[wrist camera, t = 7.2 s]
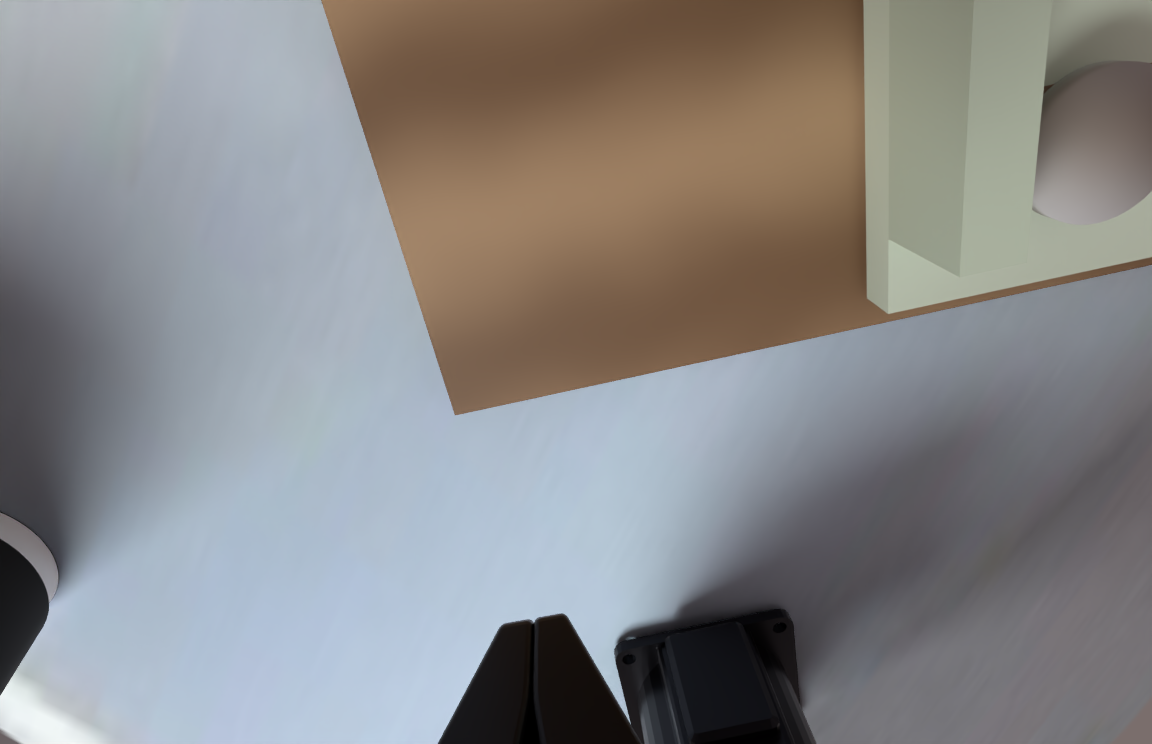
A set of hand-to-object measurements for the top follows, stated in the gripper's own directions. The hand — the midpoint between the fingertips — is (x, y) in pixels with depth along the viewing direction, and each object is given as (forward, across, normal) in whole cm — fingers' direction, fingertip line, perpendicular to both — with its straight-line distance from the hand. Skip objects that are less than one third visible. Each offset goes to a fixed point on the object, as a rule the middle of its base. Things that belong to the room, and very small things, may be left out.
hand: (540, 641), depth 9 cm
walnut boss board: (+12, -10, -6) cm, 17 cm away
